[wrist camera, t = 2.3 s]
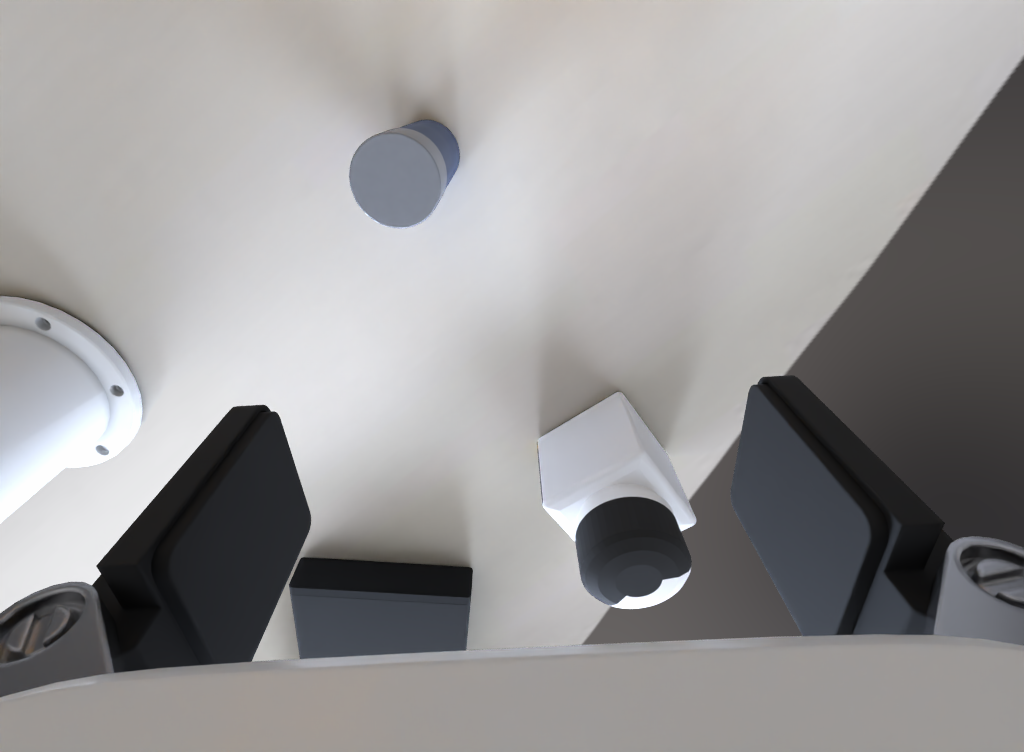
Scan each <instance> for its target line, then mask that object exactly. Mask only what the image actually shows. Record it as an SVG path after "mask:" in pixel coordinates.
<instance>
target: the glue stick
mask: <svg viewBox="0 0 1024 752" xmlns="http://www.w3.org/2000/svg"><path fill="white" fill-rule="evenodd" d="M459 159H460V153H459V147H458V143H457V141H456V139H455V137H454V135H453V134H452V133H451V131H450V130H449V129H448V128H446V127H445V126H444V125H442V124H440V123H439V122H436V121H432V120H421V121H417V122H414V123H411V124H409V125H406V126H403V127H400V128H396V129H391V130H388V131H385V132H382V133H379V134H377V135H374V136H372V137H370V138H368V139H367V140H366V141H364V142H363V143H362V144H361V145H360V146H359V148H358V149H357V150H356V152H355V154H354V156H353V158H352V161H351V165H350V172H349V179H350V186H351V190H352V193H353V196H354V198H355V200H356V202H357V203H358V205H359V206H360V208H361V209H362V210H363V211H364V212H365V213H366V214H367V215H368V216H369V217H370V218H371V219H373V220H374V221H376V222H378V223H380V224H382V225H384V226H387V227H392V228H408V227H413V226H415V225H418V224H420V223H421V222H423V221H424V220H426V219H427V218H428V217H429V216H430V215H431V214H432V212H433V211H434V210H435V208H436V206H437V204H438V203H439V201H440V199H441V198H442V196H443V194H444V191H445V189H446V187H447V185H448V184H449V182H450V180H451V179H452V177H453V175H454V174H455V172H456V170H457V168H458V165H459Z"/></svg>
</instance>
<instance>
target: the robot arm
mask: <svg viewBox="0 0 1024 752" xmlns="http://www.w3.org/2000/svg"><path fill="white" fill-rule="evenodd" d="M142 411H143V409H142V400H141V394H140V391H139V388H138V386H137V383H136V380H135V378H134V376H133V375H132V373H131V371H130V369H129V368H128V366H127V364H126V363H125V362H124V360H123V359H122V358H121V357H120V355H119V354H118V353H117V352H116V350H115V349H114V348H113V347H112V346H111V345H110V344H109V343H108V342H107V341H106V340H104V339H103V338H102V337H101V336H100V335H99V334H98V333H96V332H95V331H94V330H92V329H91V328H90V327H88V326H87V325H85V324H84V323H83V322H81V321H80V320H78V319H76V318H74V317H72V316H70V315H68V314H67V313H65V312H63V311H61V310H59V309H56V308H53V307H51V306H48V305H46V304H43V303H40V302H37V301H32V300H28V299H24V298H19V297H8V296H0V523H1V522H2V521H3V520H5V519H6V518H7V517H8V516H9V515H10V514H12V513H13V512H14V511H15V510H16V509H17V508H19V507H20V506H21V505H22V504H23V503H24V502H26V501H27V500H28V499H29V498H30V497H31V496H33V495H34V494H35V493H36V492H37V491H38V490H39V489H41V488H42V487H43V486H44V485H45V484H46V483H48V482H49V481H50V480H51V479H52V478H53V477H55V476H56V475H57V474H58V473H59V472H60V471H62V470H63V469H64V468H65V467H71V468H74V467H84V466H91V465H94V464H98V463H102V462H104V461H106V460H108V459H110V458H112V457H114V456H115V455H117V454H118V453H119V452H120V451H121V450H122V449H123V448H125V447H126V446H127V445H128V444H129V443H130V441H131V440H132V439H133V438H134V437H135V435H136V433H137V431H138V429H139V427H140V424H141V419H142ZM731 502H732V506H733V508H734V511H735V512H736V514H737V516H738V518H739V520H740V521H741V523H742V525H743V527H744V529H745V531H746V533H747V534H748V536H749V538H750V540H751V542H752V544H753V545H754V547H755V549H756V551H757V553H758V555H759V556H760V558H761V560H762V562H763V564H764V566H765V567H766V569H767V571H768V573H769V575H770V576H771V578H772V580H773V582H774V584H775V586H776V588H777V589H778V591H779V593H780V595H781V597H782V598H783V600H784V602H785V604H786V606H787V608H788V610H789V611H790V613H791V615H792V617H793V619H794V621H795V622H796V624H797V626H798V628H799V630H800V632H801V633H802V635H803V636H794V637H793V636H789V637H758V638H734V639H710V640H686V641H663V642H642V643H641V642H639V643H615V644H593V645H571V646H550V647H528V648H507V649H486V650H466V651H445V652H424V653H405V654H386V655H367V656H348V657H329V658H311V659H292V660H273V661H255V662H251V661H252V659H253V657H254V654H255V652H256V650H257V648H258V645H259V643H260V641H261V639H262V636H263V634H264V632H265V630H266V627H267V625H268V623H269V621H270V618H271V616H272V614H273V612H274V609H275V607H276V605H277V603H278V600H279V598H280V596H281V594H282V591H283V589H284V587H285V585H286V582H287V580H288V578H289V576H290V573H291V571H292V569H293V567H294V564H295V562H296V560H297V557H298V555H299V553H300V551H301V548H302V546H303V544H304V542H305V539H306V537H307V535H308V533H309V530H310V525H311V514H310V510H309V507H308V504H307V501H306V498H305V495H304V492H303V488H302V485H301V482H300V479H299V476H298V473H297V470H296V467H295V463H294V460H293V457H292V454H291V451H290V448H289V445H288V441H287V438H286V435H285V432H284V429H283V426H282V423H281V419H280V417H279V415H278V414H277V413H276V412H271V411H270V409H269V408H268V407H267V406H265V405H253V406H237V407H233V408H232V409H231V410H230V411H229V412H228V413H227V414H226V415H225V417H224V418H223V419H222V420H221V421H220V422H219V424H218V425H217V426H216V427H215V428H214V429H213V431H212V432H211V433H210V434H209V435H208V436H207V438H206V439H205V440H204V441H203V442H202V443H201V445H200V446H199V447H198V448H197V449H196V450H195V452H194V453H193V454H192V455H191V456H190V457H189V459H188V460H187V461H186V462H185V463H184V464H183V466H182V467H181V468H180V469H179V470H178V471H177V473H176V474H175V475H174V476H173V477H172V478H171V480H170V481H169V482H168V483H167V484H166V485H165V487H164V488H163V489H162V490H161V491H160V492H159V494H158V495H157V496H156V497H155V498H154V499H153V501H152V502H151V503H150V504H149V505H148V506H147V508H146V509H145V510H144V511H143V512H142V513H141V515H140V516H139V517H138V518H137V519H136V520H135V521H134V523H133V524H132V525H131V526H130V527H129V528H128V530H127V531H126V532H125V533H124V534H123V535H122V537H121V538H120V539H119V540H118V541H117V542H116V544H115V545H114V546H113V547H112V548H111V549H110V551H109V552H108V553H107V554H106V555H105V556H104V558H103V559H102V560H101V561H100V562H99V563H98V565H97V568H98V569H99V571H100V573H101V575H100V577H99V578H98V579H97V580H96V581H95V583H94V584H93V585H92V586H91V585H89V584H87V583H84V582H67V583H62V584H58V585H53V586H50V587H48V588H45V589H43V590H40V591H37V592H35V593H33V594H31V595H29V596H27V597H25V598H23V599H22V600H20V601H18V602H16V603H14V604H13V605H12V606H10V607H9V608H7V609H6V610H5V611H3V612H2V613H0V752H1024V548H1023V547H1020V546H1018V545H1015V544H1013V543H1009V542H1005V541H1002V540H997V539H993V538H984V537H976V536H975V537H966V538H960V539H958V540H956V541H953V540H952V539H951V538H950V537H949V536H948V535H947V534H946V533H945V532H944V531H943V530H942V528H943V525H944V524H945V523H944V522H943V521H942V520H941V519H940V518H939V517H938V516H937V515H936V514H935V513H934V512H933V511H932V510H931V509H930V508H929V507H928V506H927V505H926V504H925V503H924V502H923V501H922V500H921V499H920V498H919V497H918V496H917V495H916V494H915V493H914V492H913V491H912V490H911V489H910V488H909V487H908V486H907V485H906V484H905V483H904V482H903V481H902V480H901V479H900V478H899V477H898V476H897V475H896V474H895V473H894V472H893V471H892V470H891V469H890V468H889V467H887V465H886V464H885V463H884V462H883V461H881V460H880V459H879V458H878V457H877V456H876V455H875V454H874V453H873V452H872V451H871V450H870V449H869V448H868V447H867V446H866V445H865V444H864V443H863V442H862V441H861V440H860V439H859V438H858V437H857V436H856V435H855V434H854V433H853V432H852V431H851V430H850V429H849V428H848V427H847V426H846V425H845V424H844V423H843V422H842V421H841V420H840V419H839V418H838V417H837V416H836V415H835V414H834V413H833V412H832V411H831V410H830V409H829V408H828V407H827V406H826V405H825V404H824V403H823V402H822V401H820V399H818V397H816V396H815V395H814V394H813V393H812V392H811V391H810V390H809V389H808V388H807V387H806V386H805V385H804V384H803V383H802V382H801V381H800V380H799V379H798V378H797V377H795V376H773V377H763V378H761V379H760V380H759V382H758V385H752V386H751V388H750V390H749V393H748V399H747V404H746V410H745V415H744V421H743V426H742V432H741V438H740V443H739V448H738V454H737V460H736V465H735V470H734V476H733V481H732V487H731Z"/></svg>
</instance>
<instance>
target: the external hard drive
mask: <svg viewBox="0 0 1024 752" xmlns="http://www.w3.org/2000/svg"><path fill="white" fill-rule="evenodd" d="M472 574H473V570H472V568H469V567H453V566H437V565H420V564H404V563H387V562H371V561H354V560H338V559H321V558H301V559H300V561H299V563H298V566H297V568H296V570H295V572H294V575H293V577H292V579H291V582H290V584H289V588H290V594H291V601H292V608H293V615H294V621H295V628H296V635H297V641H298V648H299V655H300V659H311V658H329V657H348V656H367V655H386V654H405V653H424V652H445V651H466V645H467V634H468V623H469V612H470V601H471V589H472Z"/></svg>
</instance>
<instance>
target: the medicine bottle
mask: <svg viewBox="0 0 1024 752" xmlns="http://www.w3.org/2000/svg"><path fill="white" fill-rule="evenodd" d="M537 449H538V460H539V471H540V483H541V494H542V505H543V507H544V509H545V510H546V511H547V512H548V513H549V514H550V515H551V516H552V517H553V518H554V519H555V520H556V522H557V523H558V524H559V525H560V526H561V527H562V528H563V529H564V530H565V531H566V532H567V533H568V534H569V536H570V537H571V538H572V539H573V540H574V541H575V543H576V549H577V556H578V562H579V569H580V575H581V580H582V583H583V585H584V587H585V588H586V590H587V591H588V592H589V593H590V594H591V595H592V596H594V597H595V598H596V599H598V600H599V601H601V602H603V603H605V604H607V605H610V606H613V607H617V608H623V609H638V608H645V607H649V606H653V605H656V604H659V603H661V602H663V601H665V600H667V599H669V598H670V597H671V596H673V595H674V594H675V593H677V592H678V591H679V590H680V589H681V587H682V586H683V585H684V583H685V581H686V580H687V578H688V576H689V574H690V571H691V562H692V561H691V556H690V553H689V551H688V548H687V546H686V543H685V541H684V538H683V536H682V533H681V531H683V530H685V529H686V528H689V527H691V526H693V525H694V524H695V523H696V517H695V515H694V513H693V511H692V509H691V506H690V504H689V502H688V499H687V497H686V495H685V493H684V490H683V488H682V486H681V483H680V481H679V479H678V477H677V474H676V472H675V470H674V468H673V465H672V463H671V461H670V459H669V456H668V454H667V453H666V452H665V450H664V449H663V448H662V446H661V445H660V444H659V442H658V441H657V439H656V438H655V437H654V435H653V434H652V433H651V431H650V430H649V428H648V427H647V426H646V424H645V423H644V422H643V420H642V419H641V418H640V416H639V415H638V413H637V412H636V411H635V409H634V408H633V407H632V405H631V404H630V403H629V401H628V400H627V398H626V397H625V396H624V394H623V393H621V392H616V393H614V394H613V395H611V396H609V397H608V398H606V399H604V400H603V401H601V402H599V403H598V404H596V405H594V406H592V407H591V408H589V409H587V410H586V411H584V412H582V413H581V414H579V415H577V416H576V417H574V418H572V419H571V420H569V421H567V422H566V423H564V424H562V425H561V426H559V427H557V428H556V429H554V430H552V431H551V432H549V433H547V434H545V435H544V436H542V437H540V438H539V439H538V441H537Z"/></svg>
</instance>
